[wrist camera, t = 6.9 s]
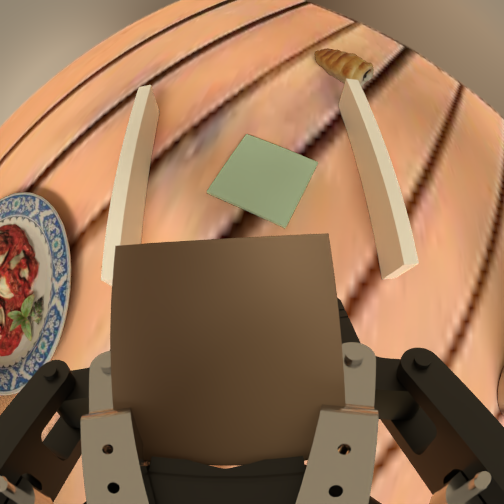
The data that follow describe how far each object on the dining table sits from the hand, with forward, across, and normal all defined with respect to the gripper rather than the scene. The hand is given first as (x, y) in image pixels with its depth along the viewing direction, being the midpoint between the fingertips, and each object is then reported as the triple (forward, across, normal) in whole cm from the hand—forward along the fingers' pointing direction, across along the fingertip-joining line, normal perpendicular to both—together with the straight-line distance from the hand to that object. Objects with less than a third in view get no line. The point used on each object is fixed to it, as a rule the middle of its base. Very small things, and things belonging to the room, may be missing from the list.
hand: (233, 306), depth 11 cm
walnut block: (+2, 0, +5) cm, 5 cm away
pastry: (+37, -17, -14) cm, 44 cm away
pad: (+23, -3, 0) cm, 23 cm away
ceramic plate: (+14, +30, +8) cm, 34 cm away
